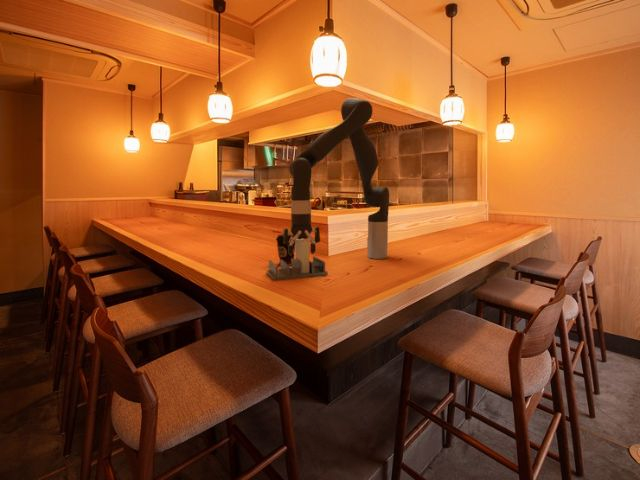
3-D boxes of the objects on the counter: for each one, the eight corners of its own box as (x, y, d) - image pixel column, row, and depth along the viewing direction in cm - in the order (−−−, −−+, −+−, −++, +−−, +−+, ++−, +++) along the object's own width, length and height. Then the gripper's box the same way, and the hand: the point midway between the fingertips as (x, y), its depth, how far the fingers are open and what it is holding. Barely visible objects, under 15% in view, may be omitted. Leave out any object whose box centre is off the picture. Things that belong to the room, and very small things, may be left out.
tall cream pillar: (295, 268, 135) (295, 238, 133) (303, 268, 136) (302, 238, 134) (301, 273, 127) (301, 241, 125) (309, 272, 128) (308, 241, 127)
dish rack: (266, 273, 133) (266, 260, 132) (316, 268, 140) (316, 256, 139) (273, 280, 122) (273, 266, 121) (327, 274, 129) (327, 261, 128)
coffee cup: (283, 267, 143) (282, 236, 141) (273, 264, 149) (272, 235, 147) (300, 264, 148) (299, 234, 146) (289, 261, 155) (288, 233, 153)
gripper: (315, 211, 134) (315, 251, 136) (280, 212, 129) (281, 254, 132) (322, 212, 127) (322, 254, 130) (285, 213, 122) (286, 257, 125)
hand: (301, 254), depth 131 cm, fingers open, 8 cm apart
